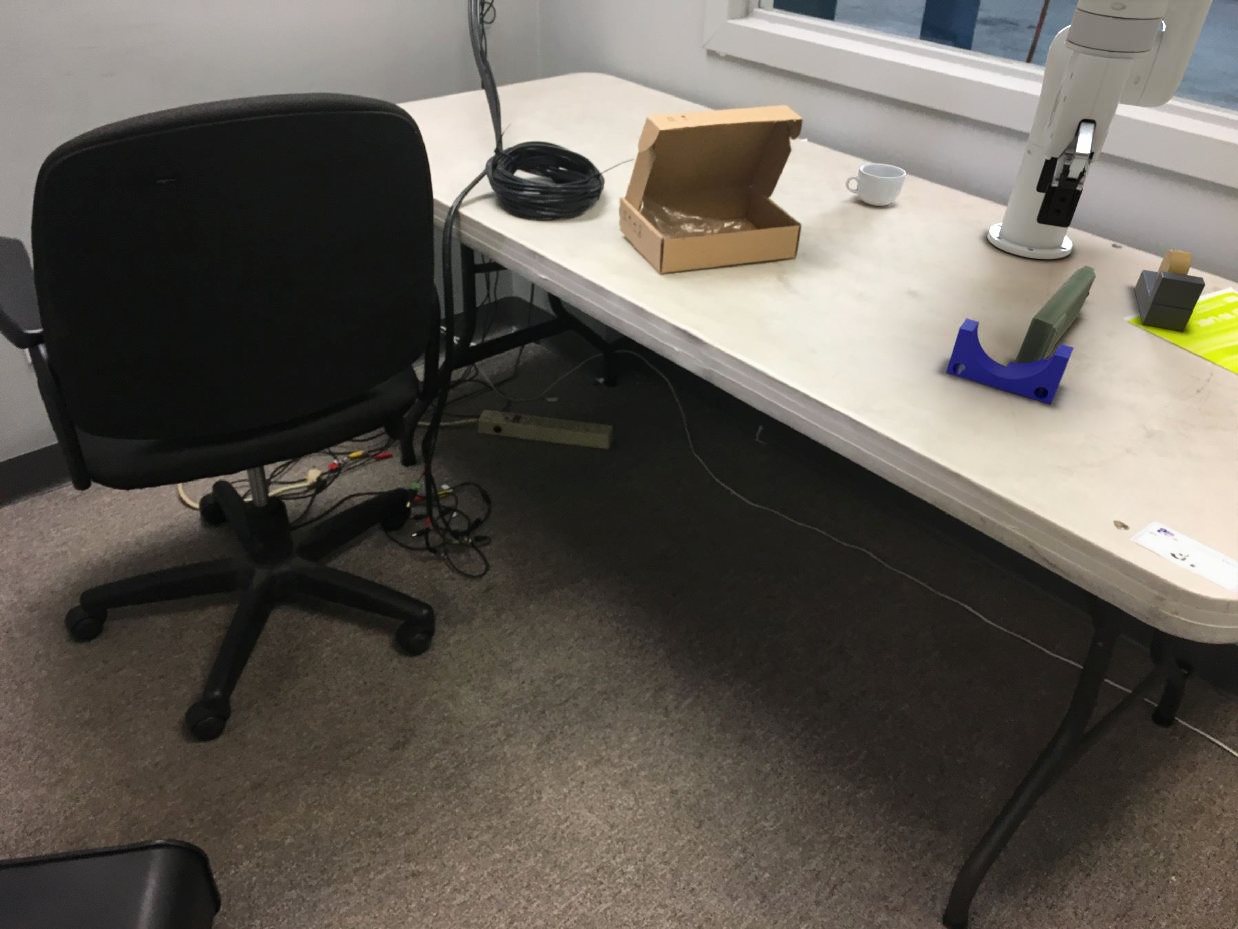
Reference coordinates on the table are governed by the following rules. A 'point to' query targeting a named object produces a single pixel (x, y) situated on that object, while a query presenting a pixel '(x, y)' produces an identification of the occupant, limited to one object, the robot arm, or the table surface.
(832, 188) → the table surface
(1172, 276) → the tape dispenser
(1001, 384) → the blue semicircular clamp bracket
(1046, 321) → the handheld radio
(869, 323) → the table surface
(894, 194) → the teacup
